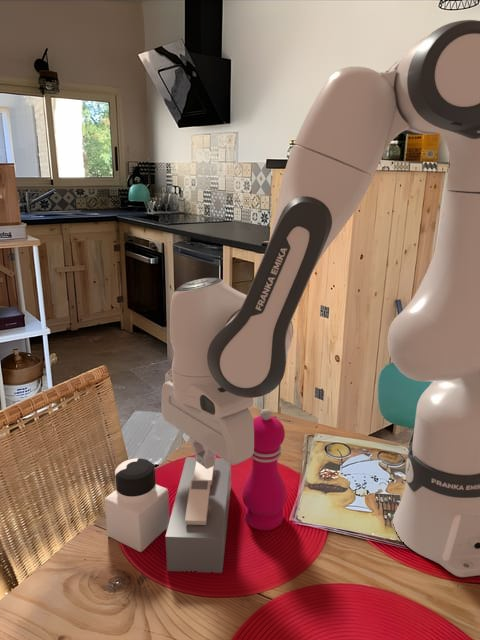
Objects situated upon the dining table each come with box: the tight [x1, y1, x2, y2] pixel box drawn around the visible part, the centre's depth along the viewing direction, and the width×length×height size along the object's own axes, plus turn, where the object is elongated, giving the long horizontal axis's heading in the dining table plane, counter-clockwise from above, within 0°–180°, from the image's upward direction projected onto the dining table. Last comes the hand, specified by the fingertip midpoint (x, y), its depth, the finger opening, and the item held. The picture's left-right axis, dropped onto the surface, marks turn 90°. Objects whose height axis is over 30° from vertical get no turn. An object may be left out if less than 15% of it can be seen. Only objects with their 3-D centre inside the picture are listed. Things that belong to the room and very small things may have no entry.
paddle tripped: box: [193, 455, 217, 485], centre depth 83 cm, size 3×7×1 cm, turn 178°
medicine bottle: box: [104, 457, 170, 553], centre depth 78 cm, size 7×7×12 cm
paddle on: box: [185, 480, 210, 525], centre depth 75 cm, size 3×7×1 cm, turn 177°
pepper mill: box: [242, 408, 287, 531], centre depth 80 cm, size 7×7×20 cm
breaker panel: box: [164, 456, 232, 574], centre depth 80 cm, size 8×20×7 cm, turn 178°
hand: (204, 463), depth 80 cm, fingers closed
